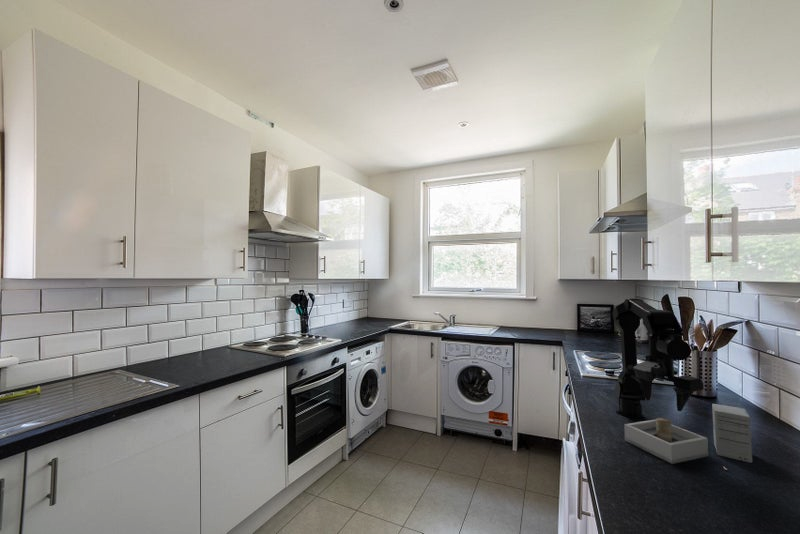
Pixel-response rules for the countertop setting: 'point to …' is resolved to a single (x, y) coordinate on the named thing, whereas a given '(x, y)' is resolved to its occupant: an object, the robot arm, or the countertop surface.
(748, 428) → the supplement box
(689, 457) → the grey box
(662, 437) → the wooden peg
